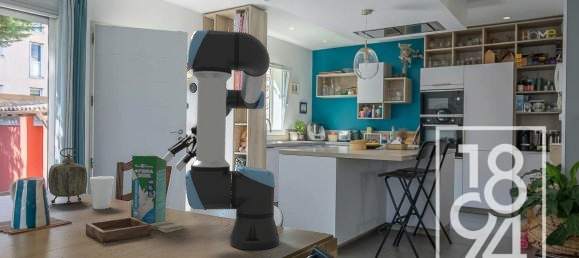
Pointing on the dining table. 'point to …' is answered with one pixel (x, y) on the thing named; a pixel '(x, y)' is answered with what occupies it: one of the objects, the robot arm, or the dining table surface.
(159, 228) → the beech board
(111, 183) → the foam cup
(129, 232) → the tray
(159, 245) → the dining table surface
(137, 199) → the milk carton
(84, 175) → the tabletop clock
